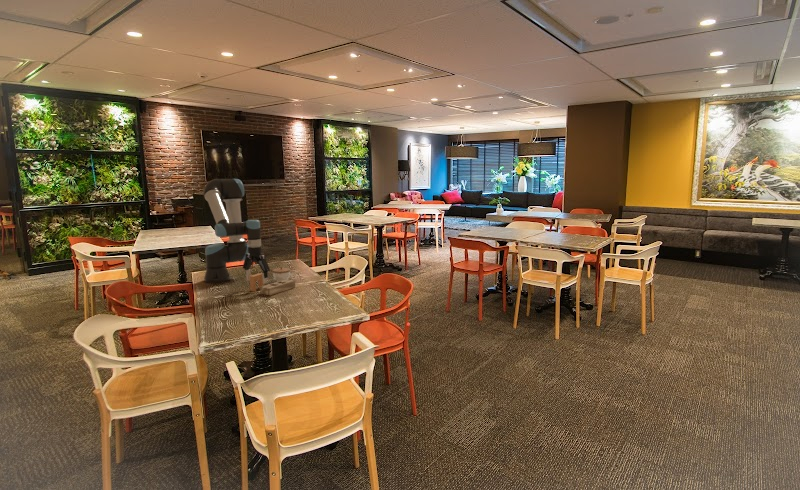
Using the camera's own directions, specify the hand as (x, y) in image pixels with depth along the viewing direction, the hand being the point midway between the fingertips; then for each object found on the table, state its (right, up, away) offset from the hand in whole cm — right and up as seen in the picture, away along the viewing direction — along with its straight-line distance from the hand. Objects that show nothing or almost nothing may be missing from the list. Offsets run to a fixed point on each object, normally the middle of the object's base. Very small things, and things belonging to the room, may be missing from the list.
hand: (256, 281), depth 252 cm
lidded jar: (+9, -2, +20) cm, 22 cm away
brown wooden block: (+13, -5, -1) cm, 14 cm away
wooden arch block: (0, -5, +1) cm, 5 cm away
